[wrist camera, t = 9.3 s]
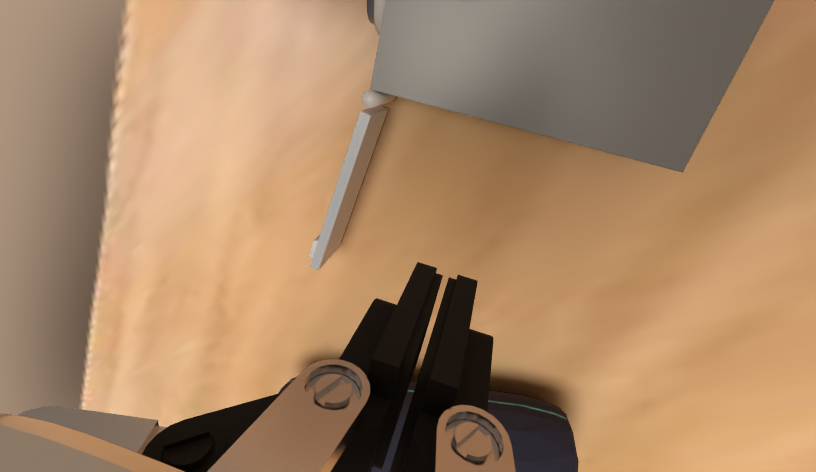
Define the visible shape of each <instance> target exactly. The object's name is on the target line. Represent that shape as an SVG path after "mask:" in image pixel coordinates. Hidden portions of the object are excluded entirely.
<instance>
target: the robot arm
mask: <svg viewBox="0 0 816 472" xmlns="http://www.w3.org/2000/svg"><path fill="white" fill-rule="evenodd" d="M436 270H437V268H435V267H432V266H429V265H425V264H422V263H419V262H418V263H417V265H416V267H415V269H414V271H413V273H412V275H411V277H410V279H409V281H408V283H407V285H406V287H405V290H404V292H403V294H402V296H401V298H400V300H399V302H398V304H397V305H395V304H392V303H389V302H386V301H383V300H380V299H377V298H376V299H375V300H374V301H373V303H372V304H371V306H370V308H369V309H368V311H367V313H366V314H365V316H364V318H363V320H362V321H361V323H360V325H359V326H358V328H357V330H356V332H355V333H354V335H353V337H352V338H351V340H350V342H349V344H348V345H347V347H346V349H345V350H344V352H343V354H342V355H341V357H340V359H339V360H338V359H327V360H320V361H318V362H315V363H313V364H311V365H309V366H308V367H307V368H306V369H304V370H303V371H302V372H301V373H300V374H299V375H298V376H297V377H296V379H295V380H294V381H293V382H292V383H291V384H290V385H289V386H288V387H287V388H286V389H285V390H284V391H283V392H282V393H279V394H276V395H272V396H268V397H265V398H261V399H258V400H254V401H250V402H247V403H243V404H240V405H236V406H232V407H229V408H225V409H222V410H218V411H214V412H211V413H207V414H204V415H200V416H196V417H193V418H189V419H186V420H183V421H180V422H178V423H175V424H173V425H170V426H169V427H160V426H159V425H158V420H153V419H146V418H138V417H131V416H124V415H117V414H110V413H103V412H96V411H89V410H81V409H74V408H67V407H60V406H54V407H53V406H48V407H40V408H36V409H32V410H28V411H25V412H23V413H21V414H19V415H11V414H3V413H0V472H371V471H372V468H373V466H374V467H376V468H379V469H381V470H382V468H383V465H384V462H385V459H386V456H387V453H388V450H389V446H390V443H391V440H392V437H393V434H394V431H395V428H396V425H397V422H398V419H399V416H400V413H401V410H402V407H403V404H404V401H405V397H406V394H407V391H408V388H409V385H410V382H411V379H412V376H413V373H414V370H415V367H416V364H417V361H418V357H419V354H420V351H421V348H422V344H423V341H424V337H425V334H426V331H427V327H428V324H429V321H430V317H431V314H432V310H433V307H434V304H435V300H436V297H437V294H438V290H439V287H440V283H441V280H442V277H443V275H440V274H437V273H436ZM476 287H477V281H476V280H473V279H470V278H467V277H464V276H460V275H458V276H457V279H452V278H449V279H448V282H447V286H446V289H445V292H444V295H443V299H442V302H441V305H440V308H439V312H438V315H437V318H436V321H435V325H434V328H433V331H432V334H431V338H430V341H429V344H428V347H427V351H426V354H425V357H424V360H423V364H422V367H421V370H420V373H419V377H418V380H417V383H416V387H415V390H414V393H413V396H412V400H411V403H410V406H409V410H408V413H407V416H406V419H405V423H404V426H403V429H402V432H401V436H400V439H399V442H398V446H397V449H396V452H395V455H394V459H393V462H392V465H391V469H390V472H516V471H515V465H514V458H513V451H512V445H511V442H510V439H509V435H508V433H507V432H506V430H505V429H504V427H503V425H502V424H501V423H500V422H499V421H498V420H497V419H496V418H495V417H494V416H492V415H491V414H489V413H488V412H487V409H488V397H489V385H490V373H491V362H492V350H493V337H492V336H490V335H487V334H483V333H480V332H477V331H474V330H471V329H469V327H470V322H471V316H472V310H473V305H474V299H475V293H476Z"/></svg>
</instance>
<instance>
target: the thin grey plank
mask: <svg viewBox="0 0 816 472" xmlns="http://www.w3.org/2000/svg"><path fill="white" fill-rule="evenodd" d="M387 111H388V109H387V108H385V107H383V106H381V105H379V106H376V107H373V108H369V109H365V110H362V111H360V114H359V117H358V120H357V124H356V127H355V130H354V133H353V136H352V139H351V142H350V145H349V148H348V151H347V154H346V157H345V160H344V163H343V166H342V170H341V173H340V176H339V179H338V182H337V185H336V188H335V191H334V194H333V197H332V200H331V203H330V206H329V209H328V212H327V215H326V219H325V222H324V225H323V228H322V231H321V234H320V235H319V236H318V237H317V238H316V239H314V242H313V246H312V249H311V252H310V255H309V257H310V258H312V261H311V265H310V267H313V268H315V269H317V270H319V269H320V268H321V267H322V266H323V265H324V264H325V262H326V261H327V260H328V259H329V258H330V257H331V256H332V255H333V254H334V252H335V251H336V250H337V249H338V248H339V246H340V243H341V241H342V238H343V235H344V232H345V229H346V227H347V224H348V221H349V218H350V215H351V213H352V210H353V207H354V204H355V201H356V198H357V196H358V193H359V190H360V187H361V184H362V182H363V179H364V176H365V173H366V170H367V168H368V165H369V162H370V159H371V156H372V154H373V151H374V148H375V145H376V142H377V140H378V137H379V134H380V131H381V128H382V125H383V123H384V120H385V117H386V114H387Z"/></svg>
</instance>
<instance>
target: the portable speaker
mask: <svg viewBox="0 0 816 472" xmlns="http://www.w3.org/2000/svg"><path fill="white" fill-rule="evenodd" d="M295 379H296V377H295V378H293V379H291V380H290V381H289V382H288V383H287V384H286V385H285V386H284V387H282V388H281V390H280V392H279V393H282V392H283V391H284V390H285V389H286V388H287V387H288V386H289V385H290V384H291V383H292V382H293V381H294V380H295ZM416 383H417V382H415V381H411V382H410V385H409V388H408V391H407V394H406V397H405V401H404V404H403V407H402V410H401V413H400V416H399V419H398V422H397V425H396V428H395V431H394V434H393V437H392V440H391V443H390V446H389V450H388V453H387V456H386V459H385V462H384V465H383V468H382V470H381V469H379V468H376V467H374V466H373V468H372V471H371V472H390V469H391V465H392V462H393V459H394V455H395V452H396V449H397V446H398V442H399V439H400V436H401V432H402V429H403V426H404V423H405V419H406V416H407V413H408V410H409V406H410V403H411V400H412V396H413V393H414V390H415V387H416ZM279 393H278V394H279ZM487 412H488V413H489V414H491V415H492V416H494V417H495V418H496V419H497V420H498V421H499V422H500V423H501V424H502V425H503V427H504V429H505V430H506V432H507V433H508V435H509V439H510V442H511V445H512V451H513V458H514V465H515V471H516V472H578V457H577V453H576V447H575V441H574V436H573V432H572V429H571V426H570V424H569V421H568V418H567V416H566V414H565V413H564V412H563V411H562V410H561V409H560V408H559V407H557V406H555V405H552V404H550V403H548V402H546V401H542V400H538V399H534V398H530V397H527V396H523V395H518V394H510V393H502V392H495V391H489V397H488V409H487Z"/></svg>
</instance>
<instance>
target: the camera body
mask: <svg viewBox="0 0 816 472" xmlns="http://www.w3.org/2000/svg"><path fill="white" fill-rule="evenodd" d="M773 2H774V0H367V13H368V18H369V21H370V22H371V23H373V24H375V28H376V31H377V33H378V34H380V37H379V43H378V48H377V54H376V60H375V65H374V71H373V77H372V82H371V88H370V89H371V90H369V91H366V92H364V93H363V95H362V103H363V105H364V106H365V107H367V108H373V107H376V106H379V105H382V104H385V103H388V102H391V101H393V100H394V99H395V97H396V96H397V97H401V98H405V99H409V100H412V101H416V102H420V103H424V104H427V105H431V106H435V107H439V108H442V109H446V110H450V111H454V112H457V113H461V114H465V115H469V116H472V117H476V118H480V119H484V120H487V121H491V122H495V123H499V124H502V125H506V126H510V127H514V128H517V129H521V130H525V131H529V132H532V133H536V134H540V135H544V136H548V137H551V138H555V139H559V140H563V141H566V142H570V143H574V144H578V145H581V146H585V147H589V148H593V149H596V150H600V151H604V152H608V153H611V154H615V155H619V156H623V157H626V158H630V159H634V160H638V161H641V162H645V163H649V164H653V165H656V166H660V167H664V168H668V169H671V170H675V171H679V172H683V171H684V169H685V167H686V165H687V163H688V161H689V160H690V158H691V156H692V154H693V152H694V150H695V148H696V146H697V145H698V143H699V141H700V139H701V137H702V135H703V133H704V131H705V130H706V128H707V126H708V124H709V122H710V120H711V118H712V116H713V115H714V113H715V111H716V109H717V107H718V105H719V103H720V101H721V99H722V98H723V96H724V94H725V92H726V90H727V88H728V86H729V84H730V83H731V81H732V79H733V77H734V75H735V73H736V71H737V69H738V68H739V66H740V64H741V62H742V60H743V58H744V56H745V54H746V53H747V51H748V49H749V47H750V45H751V43H752V41H753V39H754V38H755V36H756V34H757V32H758V30H759V28H760V26H761V24H762V23H763V21H764V19H765V17H766V15H767V13H768V11H769V9H770V8H771V6H772V4H773Z"/></svg>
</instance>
